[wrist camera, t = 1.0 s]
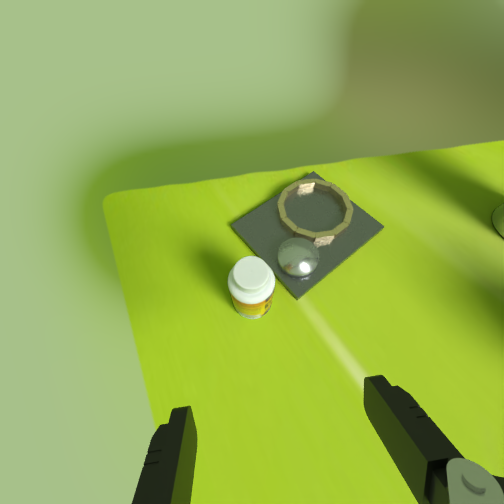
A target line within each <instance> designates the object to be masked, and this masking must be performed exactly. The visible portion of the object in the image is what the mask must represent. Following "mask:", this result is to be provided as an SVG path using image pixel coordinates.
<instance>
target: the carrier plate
mask: <svg viewBox="0 0 504 504" xmlns="http://www.w3.org/2000/svg"><path fill="white" fill-rule="evenodd" d="M231 227H232V229H233V230H234V231H235V232H236V233H237V235H238V236H239V237H240V238H241V239H242V240H243V241H244V242H245V243H246V244H247V246H248V247H249V248H250V249H251V250H252V251H253V252H254V253H255V254H256V255H257V257H259V258H261V259H262V260H263V261H265V263H266V264H267V265H268V266H269V267H270V268H271V269H272V271H273V273H274V275H275V276H276V277H277V279H278V280H279V281H280V282H281V283H282V284H283V285H284V286H285V287H286V288H287V290H288V291H289V292H290V293H291V294H292V295H293V296H294V297H295V298H296V299H297V300H298V299H299V298H301V297H302V296H303V295H304V294H305V293H307V292H308V291H309V290H310V289H311V288H313V287H314V286H315V285H316V284H317V283H319V282H320V281H321V280H322V279H323V278H325V277H326V276H327V275H328V274H330V273H331V272H332V271H333V270H334V269H336V268H337V267H338V266H339V265H340V264H342V263H343V262H344V261H345V260H346V259H348V258H349V257H350V256H351V255H352V254H354V253H355V252H356V251H357V250H358V249H360V248H361V247H362V246H363V245H364V244H366V243H367V242H368V241H369V240H370V239H372V238H373V237H374V236H375V235H376V234H378V233H379V232H380V231H381V230H382V229H383V228H384V226H383V225H382V224H380V223H379V222H378V221H377V220H375V219H374V218H373V217H371V216H370V215H369V214H368V213H366V212H365V211H364V210H362V209H361V208H360V207H359V206H357V205H356V204H355V203H353V202H352V201H351V200H350V199H349V197H348V195H346V193H345V192H344V191H343V190H341V189H340V188H339V187H337V186H336V185H335V184H332V183H331V182H327V181H325V180H324V179H323V178H321V177H320V176H319V175H318V174H316V173H315V172H314V171H313V172H312V173H310V174H309V175H307V176H305V177H304V178H302V179H301V180H298V181H296V182H294V183H292V184H291V185H289V186H288V187H286V188H285V189H284V190H283V191H282V192H281V193H279V194H278V195H276V196H275V197H273V198H272V199H270V200H268V201H267V202H265V203H264V204H262V205H261V206H259V207H258V208H256V209H255V210H253V211H252V212H250V213H248V214H247V215H245V216H244V217H242V218H241V219H239V220H238V221H236V222H235V223H233V224H231Z"/></svg>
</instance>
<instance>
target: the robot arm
mask: <svg viewBox="0 0 504 504" xmlns="http://www.w3.org/2000/svg"><path fill="white" fill-rule="evenodd" d="M492 221H493V224H494V226H495V228H496V230H497V231H498V232H499V233H500V234H501V235H502V236H503V237H504V203H503V204H502V205H500V206H499V207H498V208H496V209H495V210H494V212H493V214H492ZM364 408H365V411H366V414H367V416H368V418H369V420H370V422H371V423H372V425H373V427H374V429H375V430H376V432H377V434H378V435H379V437H380V439H381V440H382V442H383V444H384V446H385V447H386V449H387V451H388V452H389V454H390V456H391V457H392V459H393V461H394V463H395V464H396V466H397V468H398V469H399V471H400V473H401V474H402V476H403V478H404V480H405V481H406V483H407V485H408V486H409V488H410V490H411V491H412V493H413V495H414V497H415V498H416V500H417V502H418V503H419V504H504V478H503V477H498V476H494V475H491V474H490V473H489V472H488V471H487V470H485V469H484V468H483V467H481V466H480V465H478V464H476V463H475V462H472V461H470V460H467V459H465V458H464V457H463V456H462V455H461V454H460V452H459V451H458V450H457V449H456V448H455V447H454V445H453V444H452V443H451V442H450V441H449V440H448V438H447V437H446V436H445V435H444V434H443V432H442V431H441V430H440V429H439V428H438V427H437V425H436V424H435V423H434V422H433V421H432V420H431V418H430V417H428V415H427V414H426V412H425V411H424V410H423V409H422V408H420V405H419V404H418V403H417V402H416V401H415V400H414V398H413V397H412V396H411V395H410V394H409V393H407V392H406V391H405V390H403V389H402V388H400V387H399V386H391V384H390V383H389V382H388V381H387V379H386V378H385V377H384V376H383V375H377V376H370V377H365V379H364ZM196 452H197V431H196V426H195V422H194V418H193V413H192V409H191V406H185V407H179V408H173V409H172V412H171V415H170V419H169V423H168V424H162V425H160V426H159V428H158V429H157V431H156V432H155V434H154V435H153V437H152V439H151V442H150V445H149V448H148V454H147V455H146V459H145V462H144V467H143V468H142V472H141V475H140V478H139V482H138V485H137V488H136V492H135V495H134V498H133V501H132V504H190V502H191V493H192V485H193V477H194V468H195V460H196Z"/></svg>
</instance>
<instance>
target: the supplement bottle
mask: <svg viewBox="0 0 504 504" xmlns="http://www.w3.org/2000/svg"><path fill="white" fill-rule="evenodd" d="M228 287H229V291H230V294H231V297H232V301H233V304H234V307H235V309H236V311H237V312H238V313H239V314H240V315H241V316H243V317H245V318H249V319H256V318H260V317H262V316H263V315H265V314H266V313H267V312H268V310H269V309H270V307H271V304H272V298H273V293H274V287H275V276H274V273H273V271H272V269H271V268H270V267H269V266H268V265H267V264H266V263H265V261H263V260H262V259H261V258H259V257H256V256H247V257H244V258H242V259H240V260H239V261H238V262H237V263H236V264H235V266H234V267H233V268H232V269H231V271H230V273H229V276H228Z"/></svg>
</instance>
